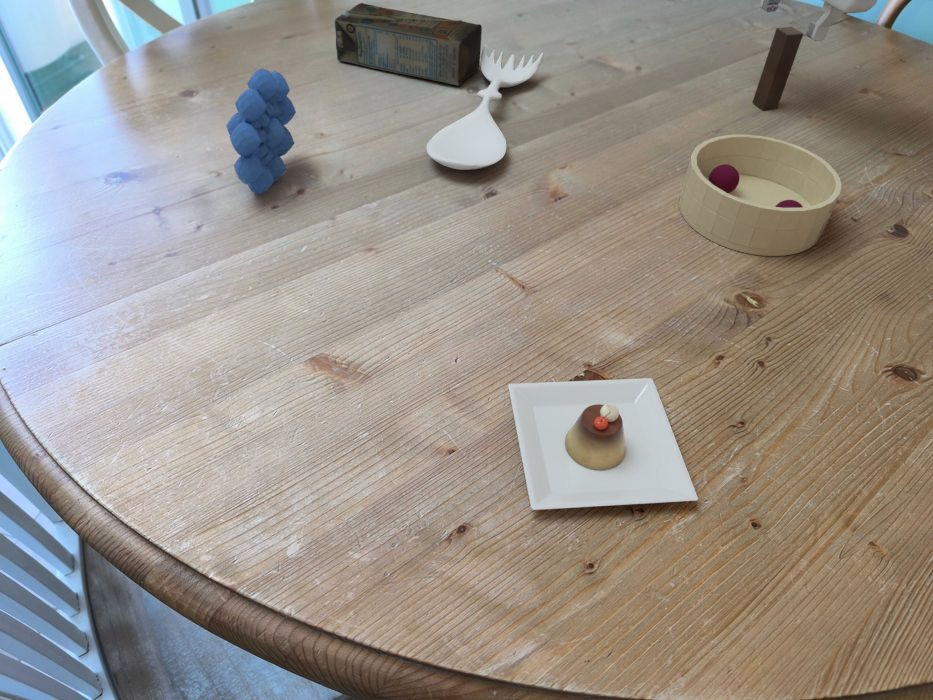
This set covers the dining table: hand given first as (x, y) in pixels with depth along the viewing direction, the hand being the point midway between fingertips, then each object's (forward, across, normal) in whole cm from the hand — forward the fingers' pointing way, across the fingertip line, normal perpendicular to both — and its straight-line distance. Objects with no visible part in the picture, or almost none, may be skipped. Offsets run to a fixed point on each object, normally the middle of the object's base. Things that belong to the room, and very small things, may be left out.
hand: (790, 23), depth 94 cm
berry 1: (+8, -18, +19) cm, 28 cm away
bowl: (+11, -22, +18) cm, 30 cm away
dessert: (+11, -46, +49) cm, 68 cm away
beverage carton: (+12, +24, +43) cm, 50 cm away
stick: (+11, 0, 0) cm, 11 cm away
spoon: (+11, +6, +38) cm, 40 cm away
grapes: (+12, -1, +67) cm, 68 cm away
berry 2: (+8, -26, +17) cm, 32 cm away
